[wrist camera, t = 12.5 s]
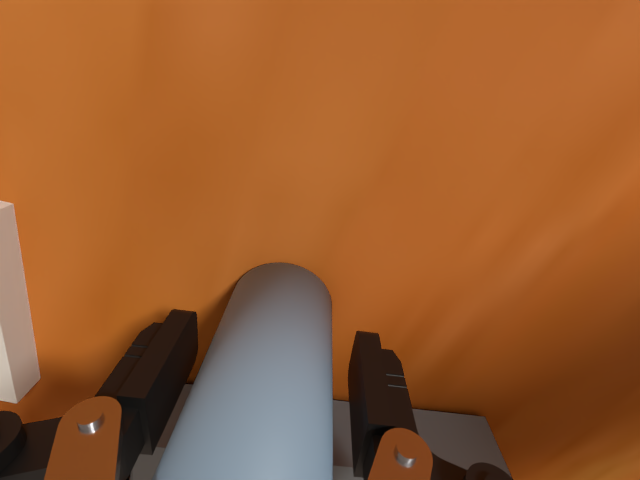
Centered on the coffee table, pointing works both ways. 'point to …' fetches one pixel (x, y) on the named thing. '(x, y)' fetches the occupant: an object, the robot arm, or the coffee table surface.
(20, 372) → the lid
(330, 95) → the coffee table surface
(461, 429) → the socket plate
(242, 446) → the peg
